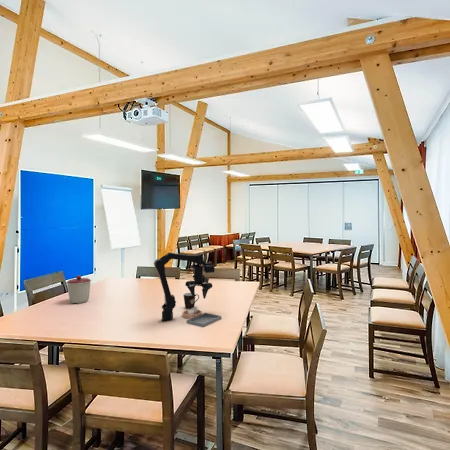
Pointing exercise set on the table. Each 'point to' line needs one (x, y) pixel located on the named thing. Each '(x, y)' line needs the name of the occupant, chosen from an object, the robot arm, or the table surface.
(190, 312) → the pebble light
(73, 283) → the canister
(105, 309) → the table surface
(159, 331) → the table surface
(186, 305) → the coffee mug
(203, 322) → the parts tray
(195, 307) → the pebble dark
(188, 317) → the terracotta dish
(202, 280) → the robot arm
